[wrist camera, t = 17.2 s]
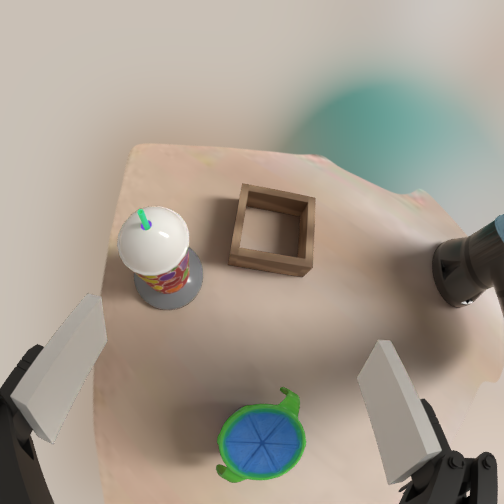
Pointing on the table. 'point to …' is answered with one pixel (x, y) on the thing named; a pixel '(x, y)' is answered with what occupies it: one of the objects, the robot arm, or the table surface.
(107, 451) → the table surface
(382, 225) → the table surface
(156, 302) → the slate coaster
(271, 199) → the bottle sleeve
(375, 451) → the table surface
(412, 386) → the robot arm
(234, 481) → the snack cup
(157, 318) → the table surface
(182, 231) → the smoothie
